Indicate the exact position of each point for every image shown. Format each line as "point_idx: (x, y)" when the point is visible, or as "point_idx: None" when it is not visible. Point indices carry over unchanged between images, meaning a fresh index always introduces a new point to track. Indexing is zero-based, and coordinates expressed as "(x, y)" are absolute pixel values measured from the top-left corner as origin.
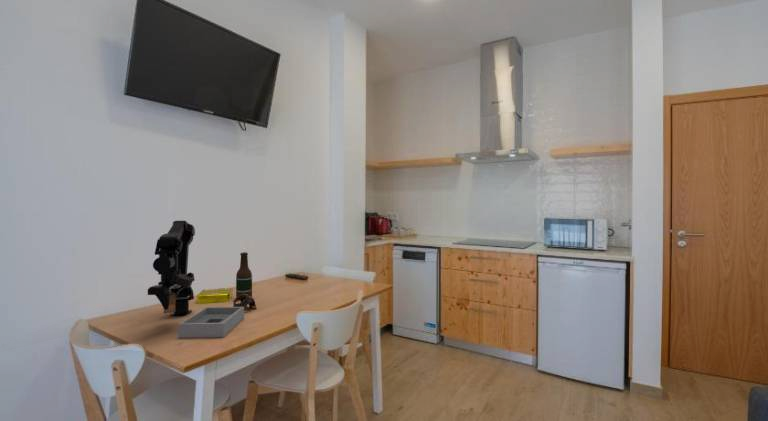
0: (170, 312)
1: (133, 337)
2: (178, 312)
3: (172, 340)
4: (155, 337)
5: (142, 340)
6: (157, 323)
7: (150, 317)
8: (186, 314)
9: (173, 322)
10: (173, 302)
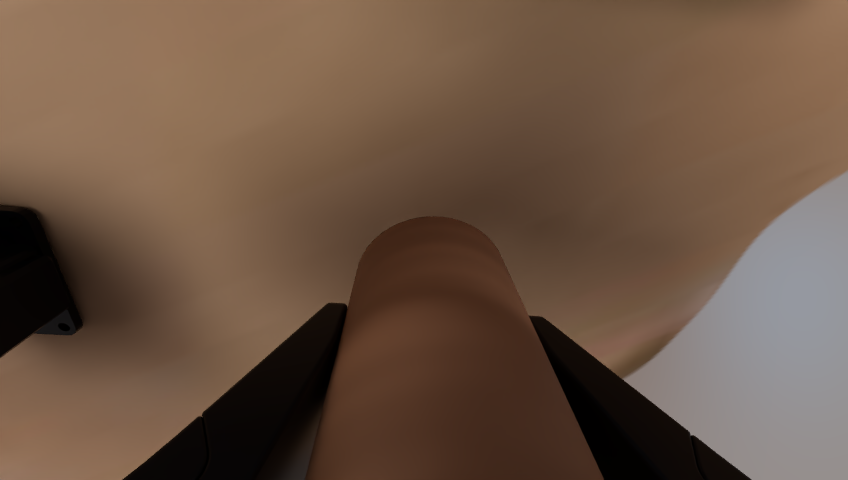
0: (497, 254)
1: (580, 344)
2: (37, 282)
3: (812, 21)
4: (642, 212)
5: (673, 270)
6: (289, 333)
7: (156, 422)
8: (4, 206)
9: (257, 232)
10: (502, 331)
